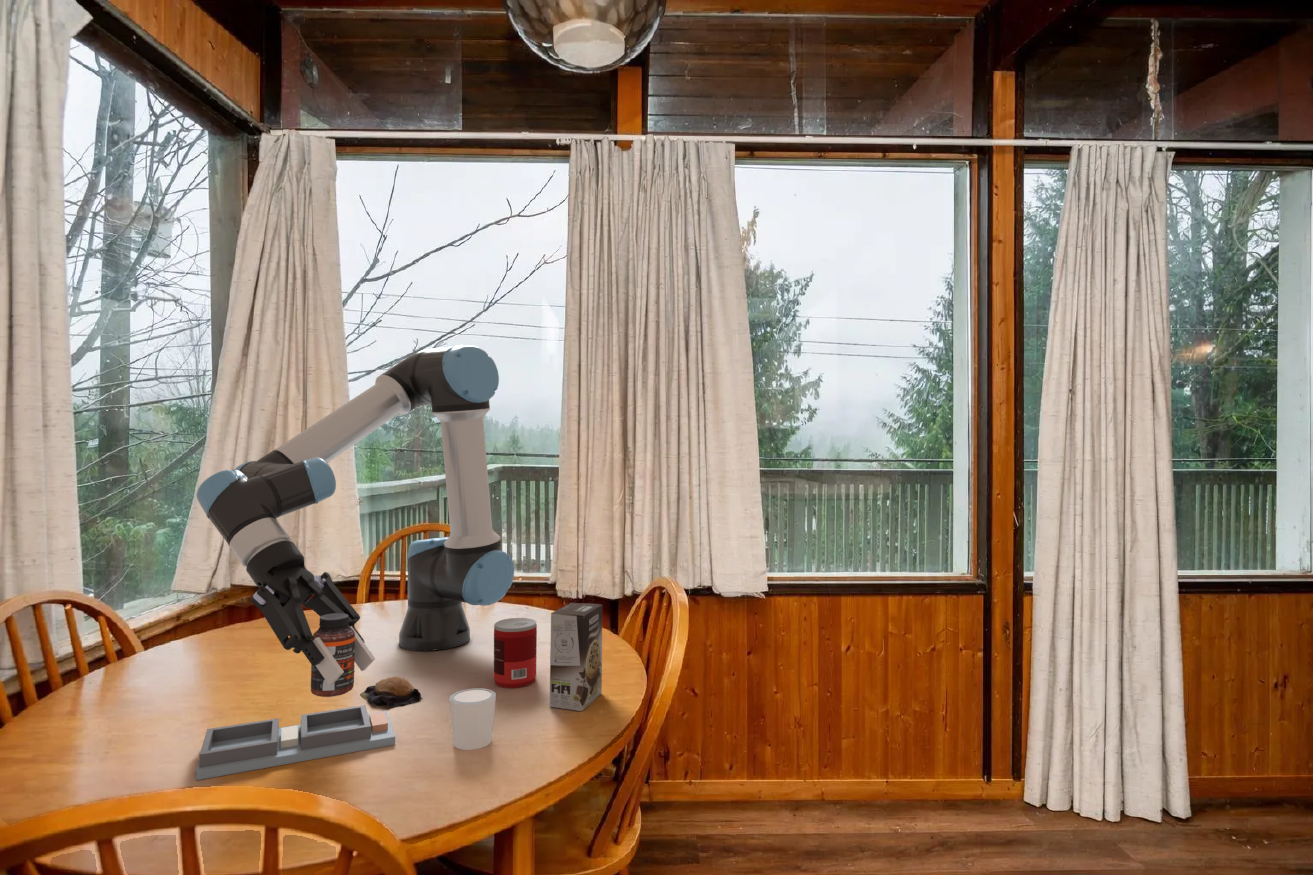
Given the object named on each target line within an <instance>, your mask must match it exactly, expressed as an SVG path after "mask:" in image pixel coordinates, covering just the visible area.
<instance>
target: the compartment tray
mask: <svg viewBox="0 0 1313 875" xmlns="http://www.w3.org/2000/svg"><path fill="white" fill-rule="evenodd" d="M279 719H280V718H279V717H278V718H273V719H272V718H271V719H265V720H258V721H251V722H244V723H238V724H231V725H223V726H219V727H211V728H207V729H206V732H205V735H204V738H203V742H202V746H201V749H200V751H199V756H198V757H199V758H198V759H199V760H198V763H197V765H196V766H197V767H196V770H195V781H199V780H204V779H205V780H206V779H212V778H216V777H217V778H218V777H221V776H227V775H235V774H239V773H244V772H250V771H257V770H261V769H267V768H271V767H279V766H283V765H290V764H294V763H300V762H305V761H310V760H317V759H322V758H327V757H328V758H329V757H334V756H338V755H339V756H340V755H345V754H349V753H356V752H362V751H366V750H367V751H368V750H372V749H379V748H384V747H389V746H395V745H396V735H395V731H394V729H393V726H392V725H393V724H392V723H391V719H390V717H389V713H388V710H382V711H377V712H371V713H368V709H367V705H366V704H363V705H356V706H351V707H343V708H335V709H331V710H324V711H323V710H322V711H316V712H310V713H304V714H301V715H300V724H294V725H289V726H283V727H279V726H280V724H279V723H280V720H279Z"/></svg>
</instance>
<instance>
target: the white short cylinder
mask: <svg viewBox="0 0 1313 875" xmlns="http://www.w3.org/2000/svg"><path fill="white" fill-rule="evenodd" d="M496 694H497V693H496V691H494V690H492V689H489V688H488V689H487V688H481V687H480V688H478V687H477V688H476V687H475V688H467V689H466V688H465V689H463V690H458V691H456V692H453V693H452V694H451V695H450V696H449V697H448V698H449V699H448V700H449V710H450V712H449V713H450V722H451V733H452V734H451V735H452V745H453V747H454V748H455V749H459V750H461V751H475V750H479V749H483V748H485V747H487V746H490V744H491V743H492V740H493V732H494V730H493V729H494V721H495V720H494V718H495V708H496V701H497V700H496V698H497V695H496Z"/></svg>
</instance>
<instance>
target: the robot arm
mask: <svg viewBox="0 0 1313 875" xmlns="http://www.w3.org/2000/svg"><path fill="white" fill-rule="evenodd" d="M499 375H500V374H499V371H498V368H497V364H496V362H495V361H494V359H493V358H492V357H491V355H489V354H488V353H487V351H485V350H484V349H482V348H480V347H478V346H476V345H468V344H466V345H465V344H464V345H463V344H458V345H451V346H444V347H436V348H426V349H423V350H420V351H417V352H415V353H413V354H411V355H409V356H408V357H406V358H405V359H402V361H399V362H398V363H397V364H395V365H394V366H392V367H391V368H389V369H387V370H386V371H385V372H383V373H381V374H380V375H379V376H377V377H376V378H375V380H374V381H375V384H374V385H372V386H370V387H369V388H368V389H366V390H365V391H363V392H361V393H360V394H358V395H357V396H355V397H353V398H352V399H350V400H349V401H347V402H346V403H344V404H343V405H341V406H340V407H338V408H336V409H335V410H333V411H332V412H330V413H329V414H327V415H326V416H324V417H323V418H321V419H320V420H318V421H316V422H315V423H314V424H312V425H311V426H309V427H307V428H305V429H304V430H303V431H301V432H299V433H298V434H297V435H295V436H293V437H292V438H291V439H289V440H287V441H286V442H284V443H282V444H281V445H280V446H278V447H277V448H275V449H274V450H272V451H270V452H269V453H267V454H265V455H263V456H262V457H261V458H259V459H257V460H253V461H252V460H251V461H248V462H244V463H242V464H239V465H238V466H236V467H235V468H234V469H231V470H230V469H224V470H220V471H217V472H216V473H214V474H212V475H210V476H209V477H207V478H206V479H205V480H204V481H203V482H202V483H201V484H200V485H199V486H198V489H197V491H196V499H197V501H198V503H199V505H200V506H201V509H202V510H203V511H204V513H205V515H206V518H207V519H208V520H210V522H211V523H212V524H213V526H214V527H215V529H216V530H217V532H218V533H219V534H220V535H221V537H222V538H223V539H224V540H225V542H226V543H227V545H228V547H229V548H230V549H231V551H232V552H233V554H234V556H236V557H237V559H238V560H239V562H240V563H241V565H242V566H243V567H244V568H246V572H247V574H248V575H249V577H250V578H251V579H252V582H254V584H255V585H256V587H258V589H257V590H256V591H255V593H254V594H253V595H252V596H250V599H249V600H250V602H251V603H252V604H253V605H254V606H255V607H256V608H258V610H260V612H261V614H262V615H263V617H264V618H265V620H266V621H267V623H268V625H269V626H270V628H271V630H272V631H273V633H274V635H275V636H276V638H277V639H278V641H279V643H280V644H281V646H282V647H283V648H284V650H286V651H290V650H292V651H293V652H294V654H300V653H301V652H302V653H303V654H304V656H305V658H306V659H307V660H308V662H309V664H310V665H311V664H312V665H313V666H316V667H317V669H318V670H319V671H320V673H321V674H322V676H323V677H324V679H325V680H326V681H327V683H328V684H329V685H331V684H333V683H334V682H335V681H336V680H337V679H338V678H339V677H340V676H341V675H342V674H343V673H344V671H343V670H342V668H341V667H340V666H339V664H338V663H337V661H336V660H335V659H334V657H333V656H332V654H331V653H330V652H329V650H328V649H327V647H326V646H325V645H324V643H323V642H322V640H321V639H320V638H319V637H317V638H315V639H314V640H312V639H313V633H312V630H311V628H310V624H309V622H308V620H307V617H306V614H305V611H304V609H303V606H304V608H306V609H311V610H313V612H314V613H315V614H317V615H318V616H319V618H320V617H321V616H323V615H327V614H335V613H343V614H347V615H348V616H349V623H348V625H349V626H350V628H351V629H353V630H354V632H355V660H354V664H356V665H357V667H358V668H359V670H360V671H361V672H363V671H366V670H367V669H368V667H369V666H370V665H371V664H373V662H374V661H375V660H376V657H375V656H374V654H373V653H372V651H371V650H370V649H369V648H368V646H367V645H366V644H365V643H366V642H365V639H364V638H363V637H362V635H361V634H360V633H359V631H358V629H357V628H356V624H357V622H358V621H360V619H361V616H360V614H359V613H358V612H357V610H355V608H354V606H352V604H350V602H349V601H348V599H347V598H346V597H345V596H344V595H343V593H342V592H341V591H340V590H339V588H338V587H337V586H336V585H335V584H334V582H333V579H332V577H331V575H330V573H329V572H327V571H325V572H323V573H322V574H321V575H314V574H313V572H311V571H310V570H309V569H307V568H306V566H305V557H304V555H303V553H302V552H301V551H300V549H299V548H298V547H297V546H296V544H295V543H294V541H291V536H290V535H289V534H288V533H287V531H286V530H285V528H284V527H283V526H282V525H281V523H280V522H279V520H278V518H280V517H283V516H285V515H288V514H291V513H294V512H297V511H298V510H301V509H304V508H307V507H310V506H312V505H315V504H316V505H317V504H319V503H320V502H322V501H324V500H326V499H328V498H330V497H332V496H333V495H334V494H335V491H336V488H337V482H336V481H337V480H336V477H335V474H334V471H333V469H332V467H331V466H330V465H329V463H330V462H331V461H333V460H334V459H336V458H337V457H339V456H340V455H341V454H342V453H344V452H346V451H348V450H349V449H350V448H352V447H353V446H355V445H356V444H357V443H359V442H360V441H361V440H363V439H365V438H366V437H367V436H369V435H370V434H372V433H373V432H375V431H376V430H378V429H379V428H380V427H382V426H383V425H385V424H386V423H388V422H389V421H390V420H392V419H393V418H395V417H396V416H397V415H401V416H404V415H405V416H406V415H407V414H409V413H411V412H412V411H413V410H415V409H417V408H420V407H423V406H425V405H431V413H432V415H433V416H434V417H436V419H438V420H439V421H440V427H441V428H440V429H441V431H440V432H441V439H442V452H443V454H442V455H443V463H444V475H445V485H446V496H447V498H446V499H447V506H448V507H447V508H448V520H449V529H450V530H449V531H450V534H449V536H445V537H436V538H427V539H419V540H414V541H411V543H410V544H409V546H408V550H407V558H406V561H407V610H406V613H405V615H404V619H403V620H402V625H401V627H400V630H399V632H398V633H399V634H398V645H399V646H400V647H401V648H403V649H406V650H410V651H411V650H412V651H427V652H428V651H439V650H448V649H452V648H457V647H459V646H462V645H465V644H466V643H468V642H469V641H470V639H471V629H470V626H469V622H468V619H467V616H466V612H465V610H464V607H463V603H464V604H465V603H466V604H468V605H471V606H483V607H487V606H491V605H494V604H496V603H498V602H499V601H500V600H502V599H503V598H504V597H505V596H506V594H507V592H508V590H509V589H510V588H511V587H512V584H513V581H514V577H515V565H514V561H513V559H512V557H511V556H509V554H508V553H507V552H506V551H503V550H502V543H501V542H502V541H501V540H502V539H501V535H499V534H498V533H497V532H496V531H494V530H493V521H492V510H491V499H490V498H491V496H490V486H489V475H488V474H489V472H488V462H487V461H488V460H487V450H486V437H485V427H484V425H485V424H484V417H485V416H486V415H487V413H488V412H489V411H490V410H491V408H490V399H492V398H493V397H494V395H495V394H496V391H497V390H498V388H499V383H500V376H499Z"/></svg>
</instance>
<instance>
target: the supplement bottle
mask: <svg viewBox="0 0 1313 875" xmlns="http://www.w3.org/2000/svg"><path fill="white" fill-rule="evenodd" d="M348 623H349V616H348V615H347V614H343V613H335V614H327V615H323V616H321V617H320V616H319V624H318V626H319V628H318V629H317V630H316V631H314V632H313V633H312V636H313V639H312V640H314V639H315V638H317V637H319V638H320V639H321V640H322V642H323V643H324V645H325V646H326V647H327V649H328V650H329V652H330V653H331V654H332V656H333V657H334V659H335V660H336V661H337V663H338V664H339V666H340V667H341V668H342V670H343V671H344V673H343V674H342V675H341V676H340V677H339V678H338V679H337V680H336V681H335V682H334V683H333V684H331V685H329V684H328V683H327V681H326V680H325V679H324V677H323V676H322V674H321V673H320V671H319V670H318V669H317V667H316V666H313V665H312V664H311V663H310V693H311V694H313V695H314V696H317V697H322V698H332V697H339V696H342V695H345V694H347V693H349V692H351V691H352V690H353V688H354V685H355V661H354V660H355V632H354V630H353V629H351V628H350V626H349V625H348Z"/></svg>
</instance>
